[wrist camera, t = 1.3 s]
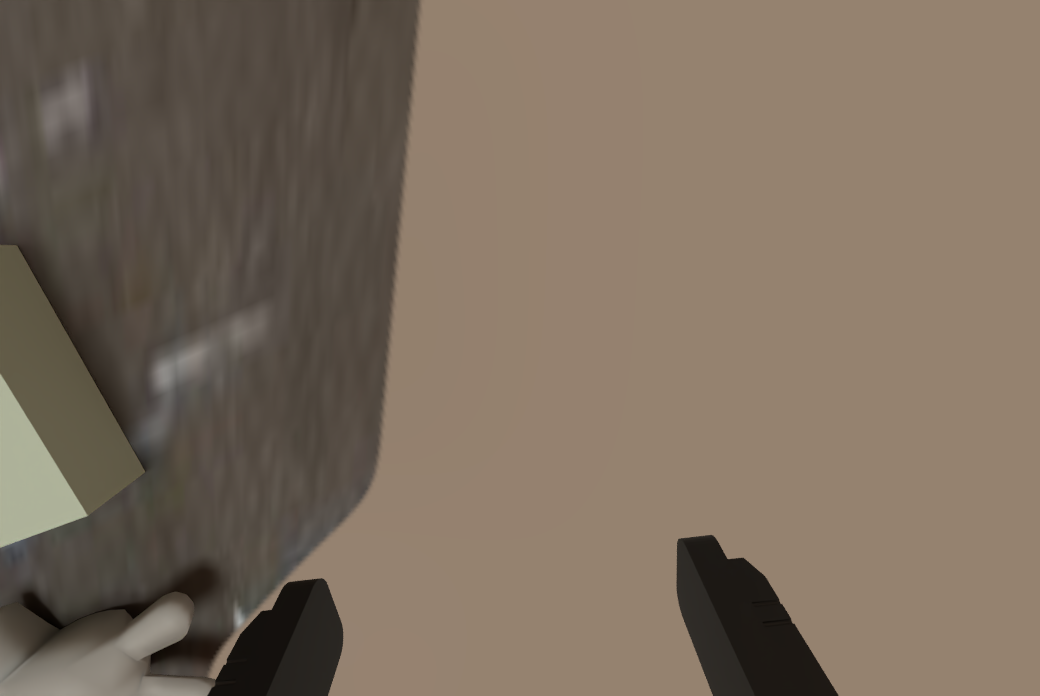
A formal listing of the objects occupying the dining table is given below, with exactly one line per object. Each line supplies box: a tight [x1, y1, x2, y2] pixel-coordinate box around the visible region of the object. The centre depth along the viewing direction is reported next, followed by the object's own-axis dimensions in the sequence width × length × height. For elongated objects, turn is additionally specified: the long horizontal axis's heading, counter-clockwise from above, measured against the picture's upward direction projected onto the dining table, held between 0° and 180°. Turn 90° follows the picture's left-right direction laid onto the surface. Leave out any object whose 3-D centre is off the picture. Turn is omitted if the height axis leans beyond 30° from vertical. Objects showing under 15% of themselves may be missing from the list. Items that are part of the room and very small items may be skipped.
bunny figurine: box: [0, 592, 215, 696], centre depth 28 cm, size 10×5×15 cm
